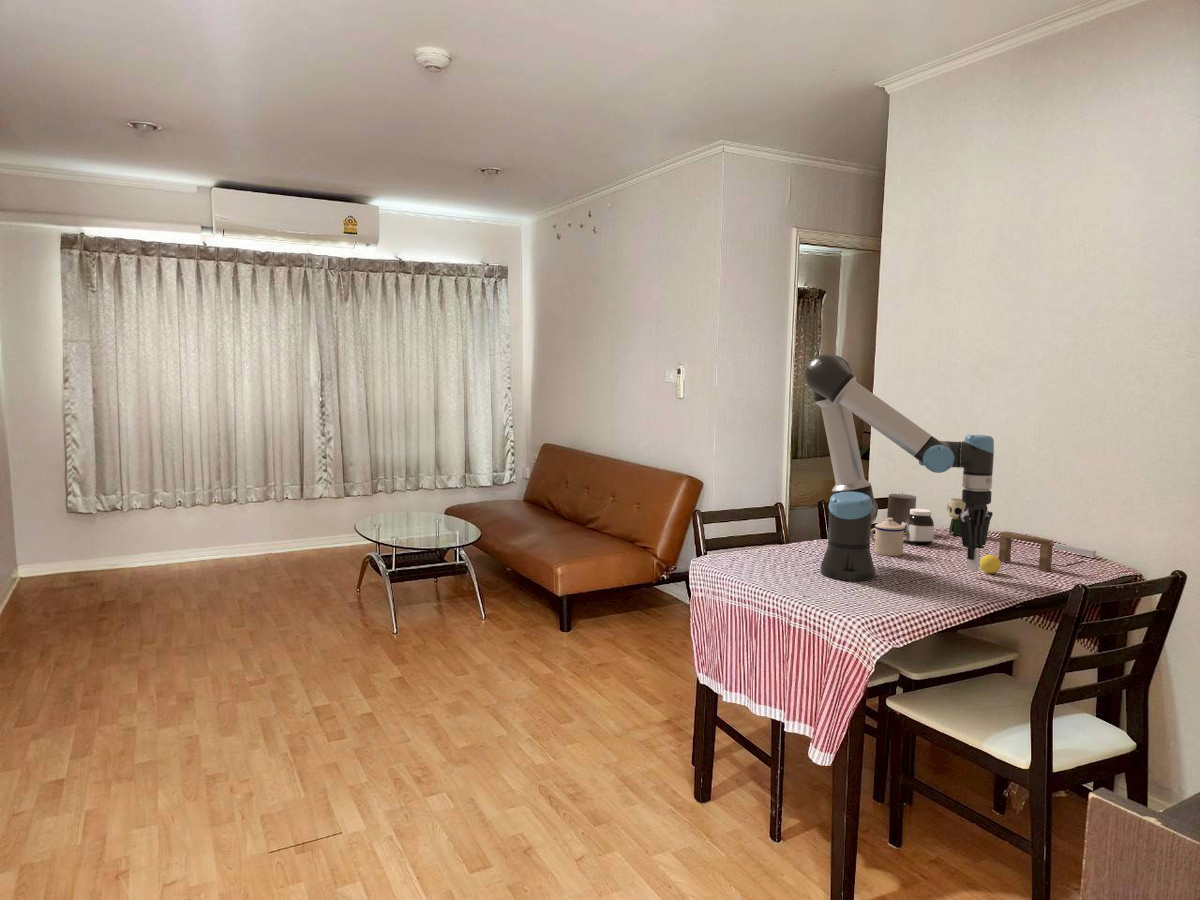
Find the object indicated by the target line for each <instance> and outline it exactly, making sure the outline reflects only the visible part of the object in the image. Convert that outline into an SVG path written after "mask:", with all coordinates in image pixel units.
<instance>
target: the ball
mask: <svg viewBox="0 0 1200 900" xmlns="http://www.w3.org/2000/svg"><path fill="white" fill-rule="evenodd" d="M1001 567H1002V562H1000V560H999V557H998V556H996V555H993V554H986V555H984V556H982V557H981V558H980V559H979V568H980V569H981V570H982V571H983V572H985V573H986V574H990V575H991V574H992V575H993V574H995V573H997V572H999V570H1001Z"/></svg>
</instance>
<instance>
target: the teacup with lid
mask: <svg viewBox="0 0 1200 900" xmlns="http://www.w3.org/2000/svg"><path fill="white" fill-rule="evenodd" d="M904 530H905V528H904V526H902V525H900V524H898V523H897V522H895V521H893V518H886V520H884V521H882V522H879V523H876V524H875V525H874V528H871V533H870V541H871V542H872V543H874V553H875V554H877V555H880V556H884V555H885V557H901V556H902V555H903V554H904ZM874 532H875V535H874ZM874 536H875V537H874Z"/></svg>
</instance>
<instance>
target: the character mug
mask: <svg viewBox="0 0 1200 900" xmlns="http://www.w3.org/2000/svg"><path fill="white" fill-rule="evenodd" d="M965 505H966V504H965V502H963V501H962V498H949V502H947V503H946V511H947V512H948V516H949V517H950V518H951V521H950V524H949V530H948V534H950V535H951V534H952V533H953V535H954V534H955V536H961V525H960V521H959V518H958V515H959V514H961V515H962V514H963V513H964V509H965Z"/></svg>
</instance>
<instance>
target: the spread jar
mask: <svg viewBox="0 0 1200 900" xmlns="http://www.w3.org/2000/svg"><path fill="white" fill-rule="evenodd" d="M901 525H902V526H904V527H905V525H906V535H905V540H906V541H907V543H908V544H909V543H910V545H913V544H915V545H914V546H920V545H926V546H929V545H931V544H933V541H934V535H935V534H934V532H935V524H934V520H933V518H932V510H930V509H925V508H916V509H910V515H909V516H908V518H907V520H906V523H904V522H902V524H901Z"/></svg>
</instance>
